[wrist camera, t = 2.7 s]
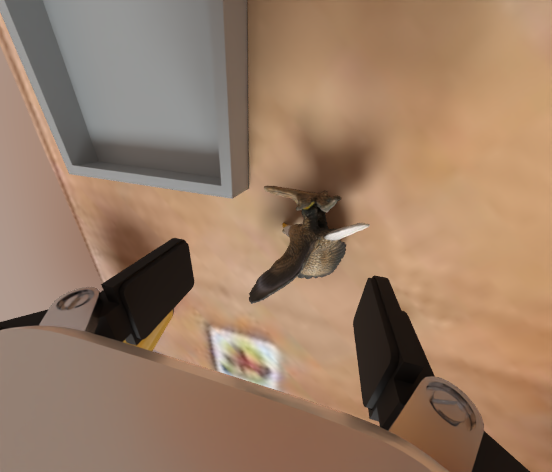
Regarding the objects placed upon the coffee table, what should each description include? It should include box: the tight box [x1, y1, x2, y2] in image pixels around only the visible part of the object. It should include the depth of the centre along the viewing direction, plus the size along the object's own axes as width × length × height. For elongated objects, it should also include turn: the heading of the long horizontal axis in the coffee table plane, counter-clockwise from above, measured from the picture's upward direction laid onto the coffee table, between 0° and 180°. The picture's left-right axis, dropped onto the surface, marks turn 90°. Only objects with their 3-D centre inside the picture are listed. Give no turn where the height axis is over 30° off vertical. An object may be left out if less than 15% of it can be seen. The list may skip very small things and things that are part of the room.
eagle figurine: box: [249, 186, 370, 304], centre depth 15 cm, size 8×7×9 cm
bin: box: [0, 0, 249, 199], centre depth 13 cm, size 16×17×3 cm
